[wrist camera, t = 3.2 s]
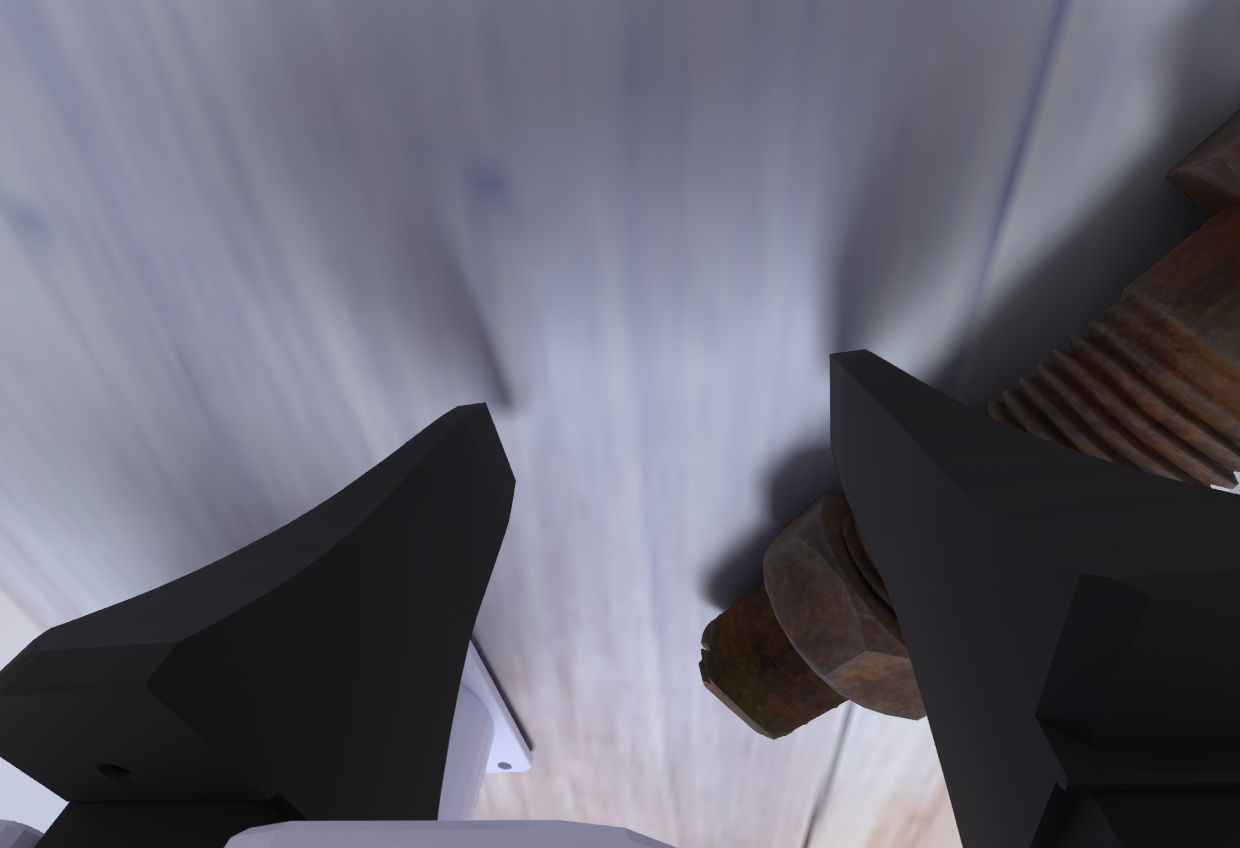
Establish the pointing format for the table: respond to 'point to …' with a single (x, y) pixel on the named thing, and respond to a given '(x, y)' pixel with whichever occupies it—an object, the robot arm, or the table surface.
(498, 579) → the table surface
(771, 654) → the bolt
